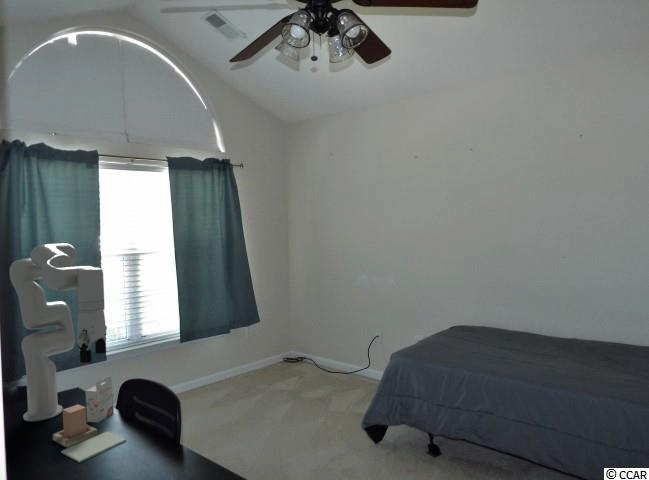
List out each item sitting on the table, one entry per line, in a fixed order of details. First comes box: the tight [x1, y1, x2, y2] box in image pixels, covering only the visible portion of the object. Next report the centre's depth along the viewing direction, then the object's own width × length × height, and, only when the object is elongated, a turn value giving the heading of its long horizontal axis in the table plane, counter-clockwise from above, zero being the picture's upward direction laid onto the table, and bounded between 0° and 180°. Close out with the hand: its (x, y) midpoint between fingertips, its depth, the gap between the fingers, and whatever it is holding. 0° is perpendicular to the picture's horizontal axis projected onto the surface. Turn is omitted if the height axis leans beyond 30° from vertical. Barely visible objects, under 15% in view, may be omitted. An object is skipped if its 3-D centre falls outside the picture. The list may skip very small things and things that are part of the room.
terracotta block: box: [62, 403, 87, 439], centre depth 145 cm, size 5×5×10 cm
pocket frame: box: [52, 423, 99, 449], centre depth 145 cm, size 10×10×2 cm
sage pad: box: [61, 430, 127, 463], centre depth 138 cm, size 11×15×1 cm
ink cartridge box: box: [85, 375, 115, 423], centre depth 160 cm, size 9×5×15 cm, turn 168°
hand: (93, 357), depth 140 cm, fingers open, 9 cm apart
